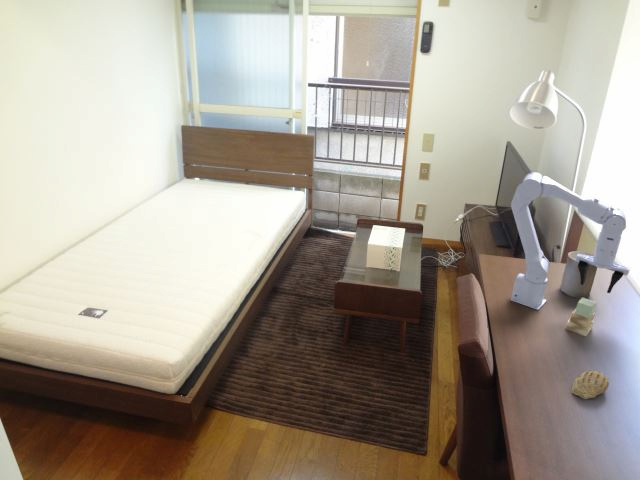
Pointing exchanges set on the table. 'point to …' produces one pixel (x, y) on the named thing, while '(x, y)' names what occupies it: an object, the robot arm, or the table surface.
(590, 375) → the seashell
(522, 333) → the table surface
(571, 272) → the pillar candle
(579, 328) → the base slab
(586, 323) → the beige square block
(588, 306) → the sage cube
